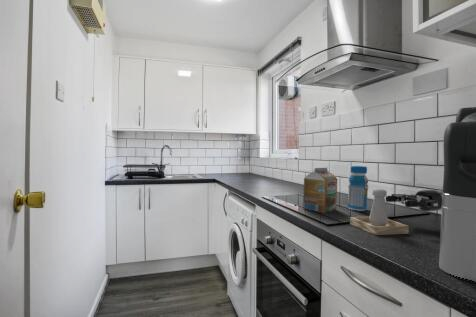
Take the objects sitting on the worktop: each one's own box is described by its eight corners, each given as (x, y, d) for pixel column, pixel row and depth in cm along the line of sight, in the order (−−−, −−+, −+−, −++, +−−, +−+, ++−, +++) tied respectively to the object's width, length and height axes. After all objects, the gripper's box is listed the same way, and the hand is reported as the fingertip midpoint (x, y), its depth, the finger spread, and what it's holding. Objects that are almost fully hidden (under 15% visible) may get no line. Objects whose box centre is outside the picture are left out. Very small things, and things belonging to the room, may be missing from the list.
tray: (408, 233, 84) (408, 225, 84) (375, 235, 81) (375, 227, 81) (379, 222, 96) (379, 216, 96) (349, 223, 93) (350, 217, 93)
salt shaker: (390, 229, 85) (392, 191, 85) (371, 228, 86) (373, 190, 86) (384, 225, 91) (385, 188, 90) (366, 223, 92) (368, 187, 92)
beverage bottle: (352, 211, 114) (354, 166, 114) (344, 207, 123) (345, 165, 122) (371, 211, 115) (372, 167, 114) (361, 207, 123) (363, 166, 122)
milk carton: (315, 205, 124) (317, 166, 124) (336, 209, 116) (337, 168, 116) (303, 208, 117) (304, 167, 117) (324, 213, 109) (325, 168, 109)
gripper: (416, 187, 100) (380, 187, 97) (454, 193, 86) (414, 194, 83) (415, 206, 100) (380, 207, 97) (453, 215, 86) (413, 217, 83)
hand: (395, 201), depth 90 cm, fingers open, 8 cm apart
